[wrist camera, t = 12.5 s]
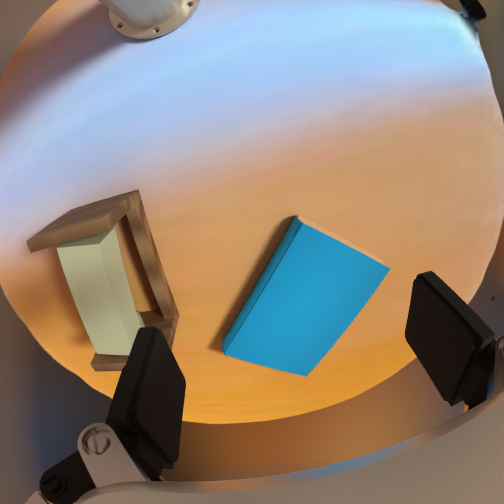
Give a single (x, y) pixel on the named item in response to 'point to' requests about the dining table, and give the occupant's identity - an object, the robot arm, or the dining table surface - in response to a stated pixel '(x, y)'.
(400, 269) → the dining table surface
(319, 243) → the book
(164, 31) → the robot arm
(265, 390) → the dining table surface
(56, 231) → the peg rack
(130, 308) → the pale green block
